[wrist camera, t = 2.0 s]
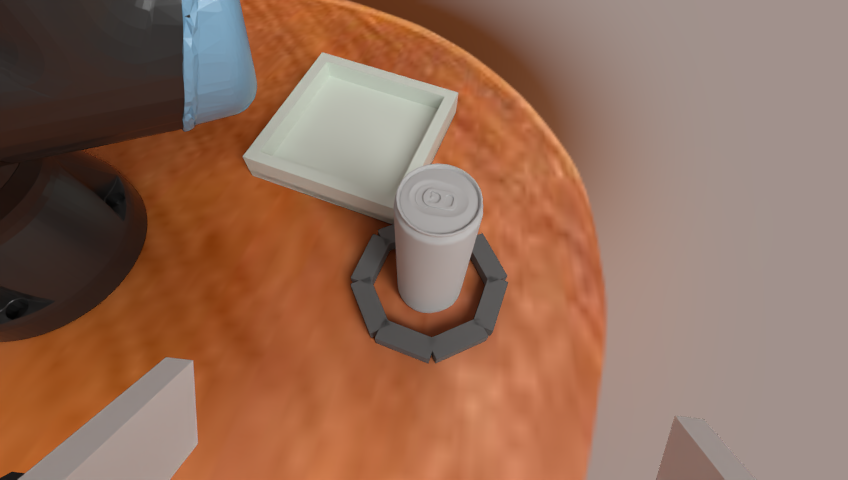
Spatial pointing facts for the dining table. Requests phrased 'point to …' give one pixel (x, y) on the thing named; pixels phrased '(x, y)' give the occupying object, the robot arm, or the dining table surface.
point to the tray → (352, 135)
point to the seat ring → (413, 340)
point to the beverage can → (435, 234)
